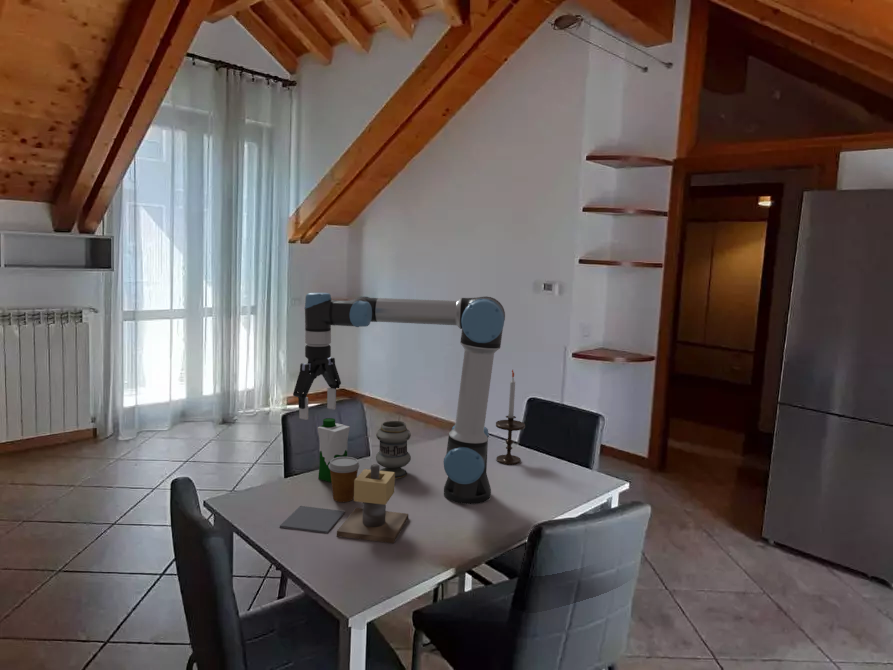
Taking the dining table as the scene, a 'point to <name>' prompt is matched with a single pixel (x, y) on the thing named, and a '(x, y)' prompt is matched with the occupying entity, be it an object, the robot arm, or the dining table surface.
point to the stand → (373, 520)
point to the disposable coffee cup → (343, 477)
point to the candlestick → (510, 429)
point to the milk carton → (331, 445)
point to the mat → (312, 519)
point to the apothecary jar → (393, 447)
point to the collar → (374, 487)
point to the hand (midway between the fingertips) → (318, 413)
